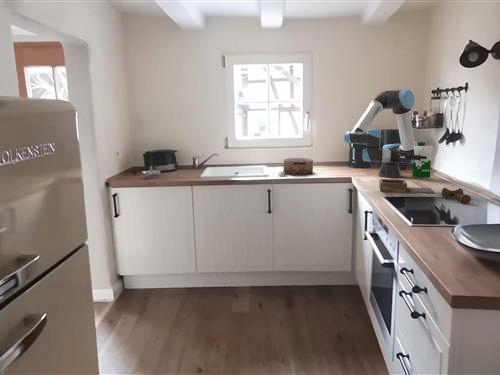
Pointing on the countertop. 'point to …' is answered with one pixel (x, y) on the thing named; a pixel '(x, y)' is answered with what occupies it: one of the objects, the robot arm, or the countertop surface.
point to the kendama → (456, 195)
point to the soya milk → (422, 161)
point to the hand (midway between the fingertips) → (431, 156)
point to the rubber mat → (420, 190)
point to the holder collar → (392, 185)
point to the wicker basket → (298, 166)
